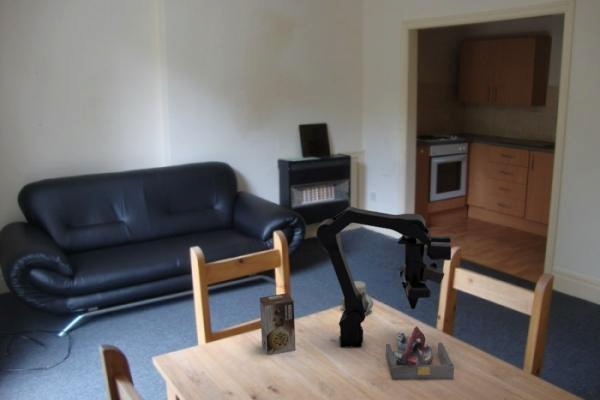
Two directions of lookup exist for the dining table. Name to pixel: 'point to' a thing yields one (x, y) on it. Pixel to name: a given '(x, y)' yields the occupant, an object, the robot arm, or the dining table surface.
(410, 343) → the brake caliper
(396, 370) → the receiver
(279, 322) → the coffee box
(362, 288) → the air freshener
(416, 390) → the dining table surface
